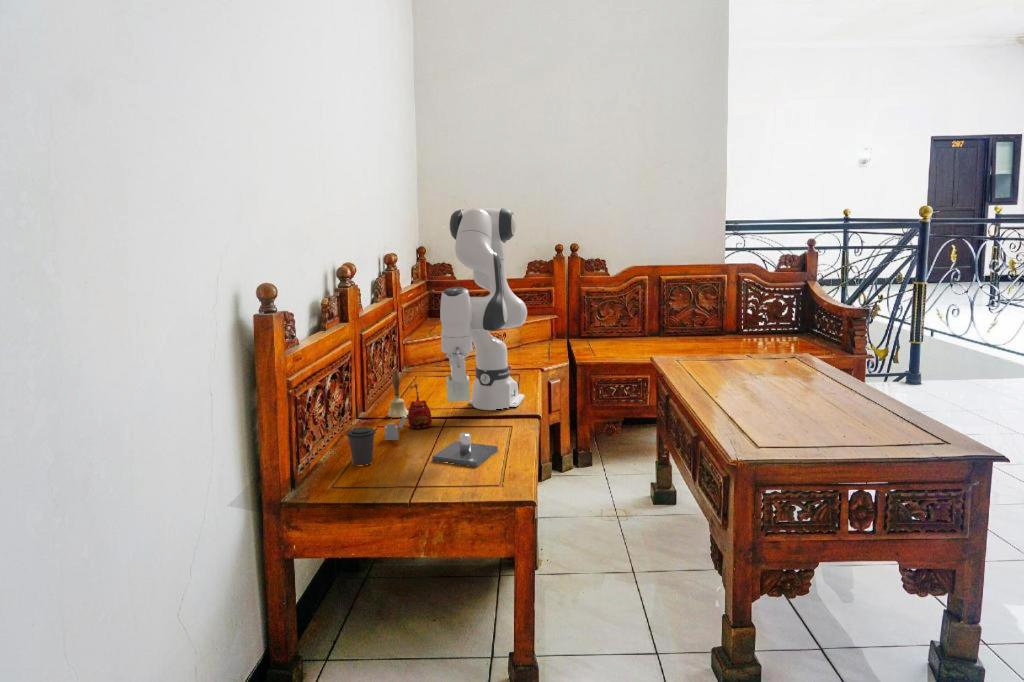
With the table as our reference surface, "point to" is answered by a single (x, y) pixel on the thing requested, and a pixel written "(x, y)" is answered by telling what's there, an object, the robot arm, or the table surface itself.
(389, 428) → the lighter
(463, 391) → the sleeve
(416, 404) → the red clay folk toy
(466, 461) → the plate
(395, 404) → the hand bell
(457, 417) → the table surface
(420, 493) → the table surface
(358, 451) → the coffee cup
